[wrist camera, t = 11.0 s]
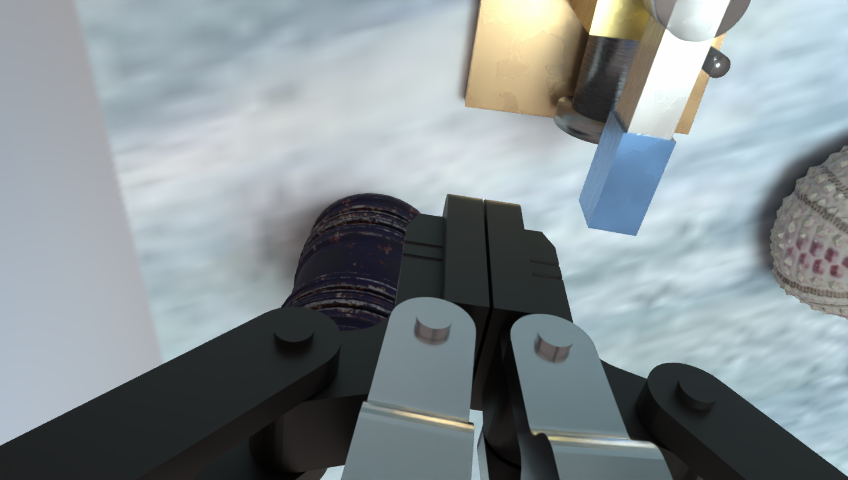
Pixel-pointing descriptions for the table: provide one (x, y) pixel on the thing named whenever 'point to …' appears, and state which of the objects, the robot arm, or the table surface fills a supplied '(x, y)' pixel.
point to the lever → (651, 109)
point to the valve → (566, 61)
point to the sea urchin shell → (815, 238)
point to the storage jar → (353, 260)
